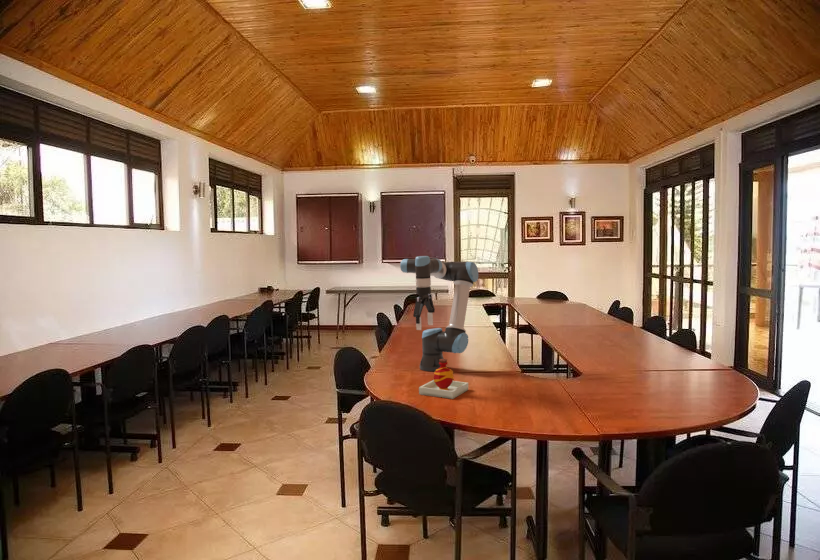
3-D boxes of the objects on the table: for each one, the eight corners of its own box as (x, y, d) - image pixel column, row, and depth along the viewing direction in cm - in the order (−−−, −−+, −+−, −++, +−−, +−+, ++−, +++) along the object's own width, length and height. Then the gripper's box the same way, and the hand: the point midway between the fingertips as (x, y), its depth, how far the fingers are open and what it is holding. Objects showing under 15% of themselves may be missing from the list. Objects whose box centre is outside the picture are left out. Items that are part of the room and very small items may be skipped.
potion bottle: (437, 393, 257) (436, 362, 256) (430, 388, 267) (429, 358, 266) (457, 391, 259) (457, 361, 258) (450, 386, 269) (449, 356, 268)
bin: (436, 385, 275) (436, 378, 275) (468, 389, 266) (468, 382, 266) (419, 394, 260) (418, 387, 260) (452, 399, 251) (452, 391, 251)
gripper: (427, 283, 287) (428, 322, 289) (405, 289, 265) (407, 331, 267) (440, 283, 284) (441, 323, 286) (419, 289, 262) (420, 332, 264)
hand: (424, 327), depth 277 cm, fingers open, 13 cm apart
